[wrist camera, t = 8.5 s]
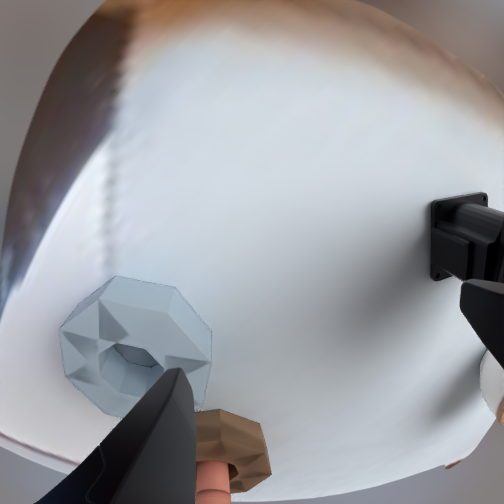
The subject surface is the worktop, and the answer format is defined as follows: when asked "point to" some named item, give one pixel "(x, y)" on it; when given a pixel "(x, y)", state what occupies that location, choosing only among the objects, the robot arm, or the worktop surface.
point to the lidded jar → (492, 385)
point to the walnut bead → (233, 447)
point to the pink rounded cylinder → (212, 482)
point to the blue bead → (133, 343)
